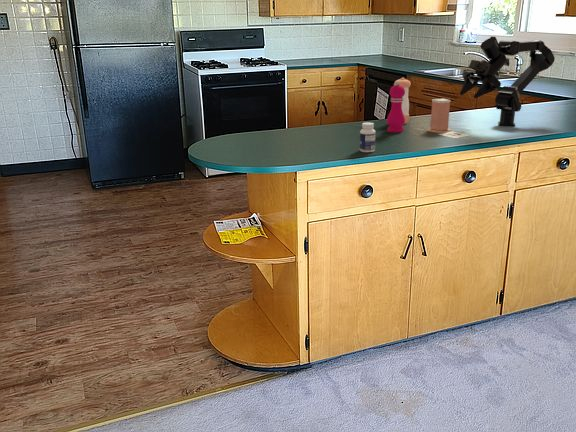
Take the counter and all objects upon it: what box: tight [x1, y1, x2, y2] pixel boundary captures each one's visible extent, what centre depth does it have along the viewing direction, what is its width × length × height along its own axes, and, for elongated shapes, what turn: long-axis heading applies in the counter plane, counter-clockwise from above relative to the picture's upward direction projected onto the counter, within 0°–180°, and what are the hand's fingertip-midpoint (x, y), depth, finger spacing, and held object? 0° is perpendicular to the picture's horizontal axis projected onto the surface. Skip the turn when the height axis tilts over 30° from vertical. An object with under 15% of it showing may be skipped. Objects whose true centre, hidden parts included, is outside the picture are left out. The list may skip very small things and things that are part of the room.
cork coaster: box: [426, 127, 453, 134], centre depth 239 cm, size 10×10×1 cm
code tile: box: [437, 130, 469, 139], centre depth 230 cm, size 9×9×1 cm
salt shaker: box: [393, 77, 411, 125], centre depth 254 cm, size 7×7×19 cm
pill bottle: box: [359, 121, 376, 153], centre depth 206 cm, size 5×5×10 cm
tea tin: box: [429, 98, 451, 131], centre depth 237 cm, size 5×5×12 cm
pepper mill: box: [386, 81, 405, 133], centre depth 236 cm, size 7×7×20 cm
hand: (467, 96), depth 236 cm, fingers open, 9 cm apart
